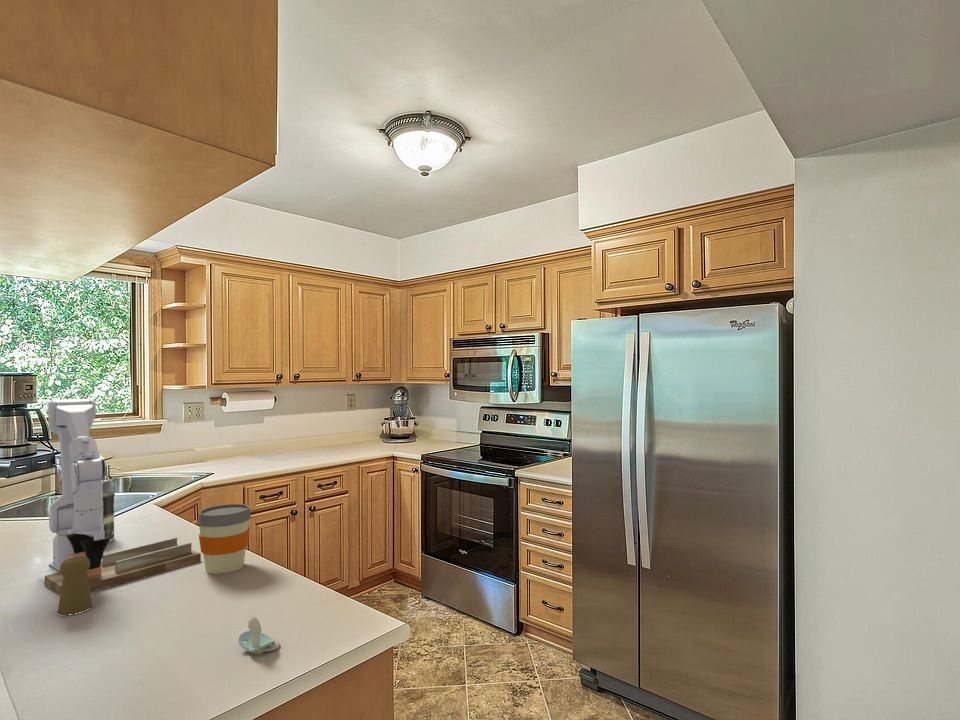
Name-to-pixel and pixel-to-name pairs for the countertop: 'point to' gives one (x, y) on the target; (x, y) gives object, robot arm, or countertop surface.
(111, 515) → the coffee can
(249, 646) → the pacifier
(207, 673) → the countertop surface
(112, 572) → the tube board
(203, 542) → the reusable coffee cup
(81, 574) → the cork
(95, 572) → the block
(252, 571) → the countertop surface
